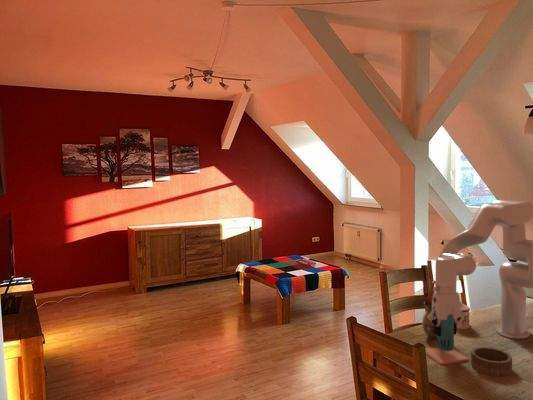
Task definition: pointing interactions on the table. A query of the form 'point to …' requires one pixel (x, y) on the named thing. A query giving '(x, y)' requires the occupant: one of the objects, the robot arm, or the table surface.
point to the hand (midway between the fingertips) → (445, 333)
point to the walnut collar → (491, 361)
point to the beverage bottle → (446, 334)
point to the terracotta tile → (445, 356)
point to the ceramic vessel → (426, 323)
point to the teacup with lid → (464, 317)
